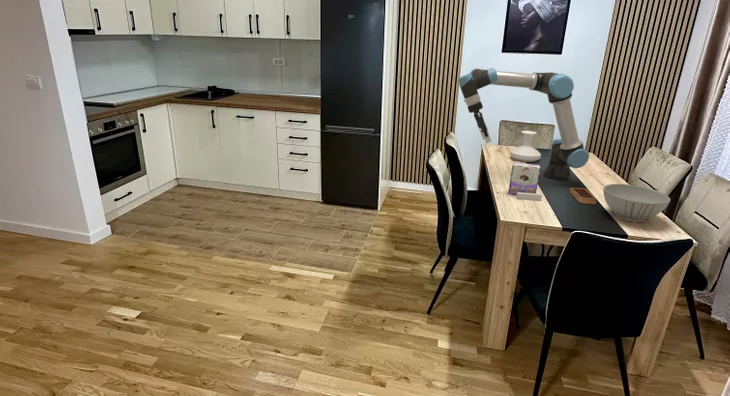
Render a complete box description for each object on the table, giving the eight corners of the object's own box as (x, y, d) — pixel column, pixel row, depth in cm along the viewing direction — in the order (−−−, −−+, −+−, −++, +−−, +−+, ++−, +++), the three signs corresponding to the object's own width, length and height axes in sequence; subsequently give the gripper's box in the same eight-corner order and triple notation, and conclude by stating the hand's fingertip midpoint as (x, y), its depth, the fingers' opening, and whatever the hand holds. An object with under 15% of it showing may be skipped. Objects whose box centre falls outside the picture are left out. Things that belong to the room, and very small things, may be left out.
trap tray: (584, 193, 230) (585, 188, 229) (595, 204, 215) (597, 199, 214) (569, 192, 231) (570, 187, 230) (579, 203, 216) (580, 197, 215)
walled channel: (533, 190, 233) (534, 185, 232) (540, 200, 218) (542, 195, 217) (510, 188, 234) (511, 183, 233) (516, 199, 219) (517, 193, 218)
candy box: (535, 194, 227) (540, 164, 221) (535, 198, 221) (541, 167, 216) (508, 190, 231) (512, 161, 225) (507, 194, 225) (512, 164, 220)
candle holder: (542, 159, 296) (547, 132, 289) (536, 165, 280) (541, 136, 273) (513, 154, 306) (517, 128, 299) (505, 160, 290) (510, 132, 283)
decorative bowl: (637, 232, 184) (644, 206, 180) (585, 210, 207) (590, 186, 203) (676, 224, 195) (684, 199, 190) (622, 203, 218) (628, 181, 213)
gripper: (464, 104, 237) (477, 139, 242) (469, 108, 214) (483, 146, 218) (477, 99, 236) (490, 134, 240) (483, 102, 212) (497, 141, 216)
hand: (487, 140), depth 229 cm, fingers open, 13 cm apart
